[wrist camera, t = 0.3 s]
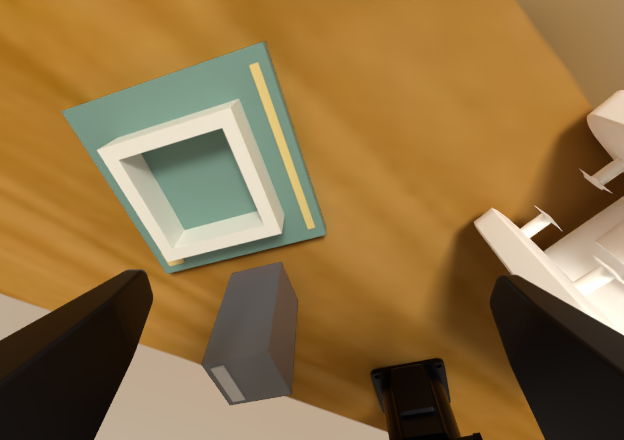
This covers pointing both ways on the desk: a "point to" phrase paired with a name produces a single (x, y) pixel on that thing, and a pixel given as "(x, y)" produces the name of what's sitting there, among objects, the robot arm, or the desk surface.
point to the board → (209, 149)
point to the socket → (154, 205)
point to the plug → (254, 336)
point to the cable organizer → (575, 237)
